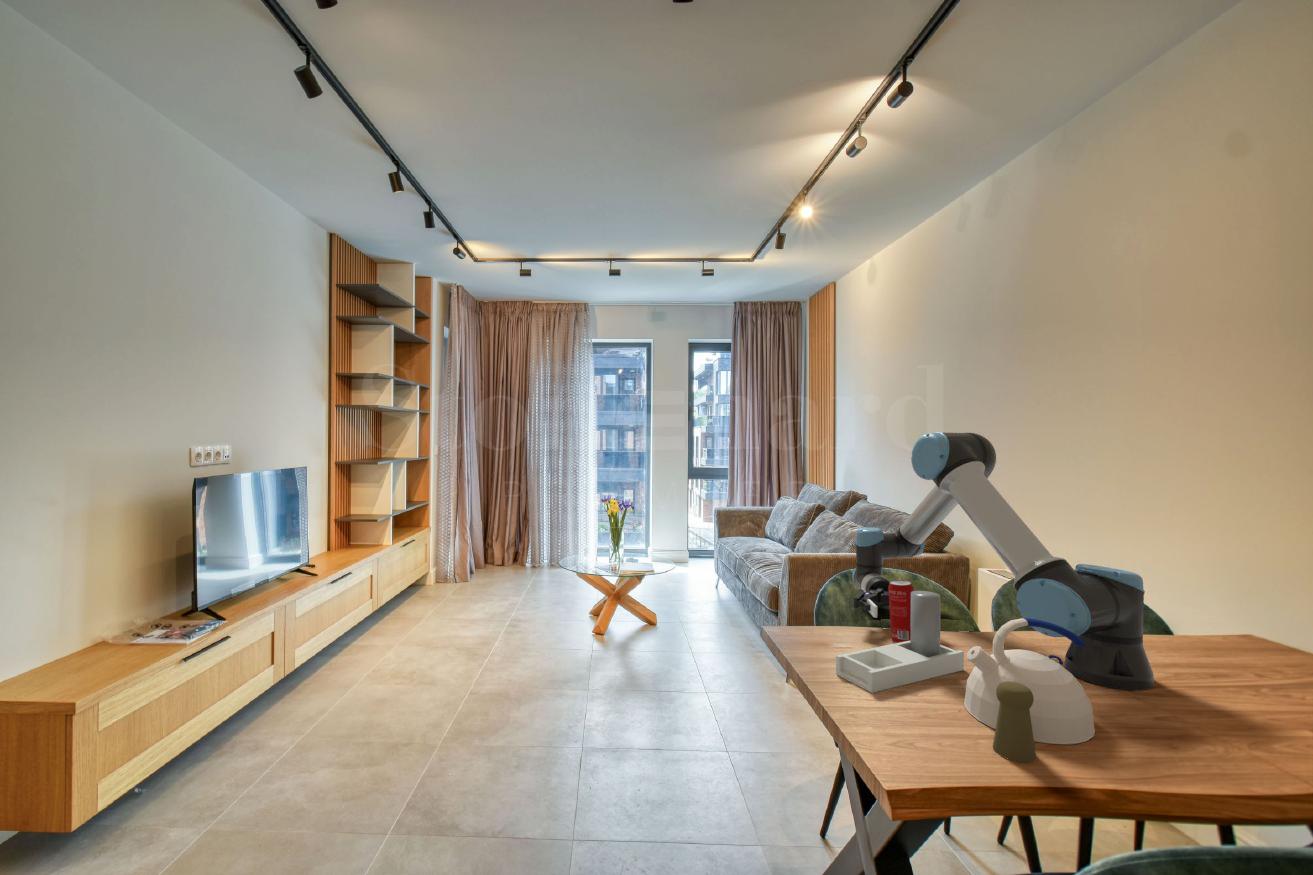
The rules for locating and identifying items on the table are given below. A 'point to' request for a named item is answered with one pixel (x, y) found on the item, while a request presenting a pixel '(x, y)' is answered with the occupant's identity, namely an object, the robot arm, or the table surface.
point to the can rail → (904, 652)
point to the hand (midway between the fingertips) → (904, 612)
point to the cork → (1014, 723)
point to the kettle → (1031, 687)
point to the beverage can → (900, 610)
